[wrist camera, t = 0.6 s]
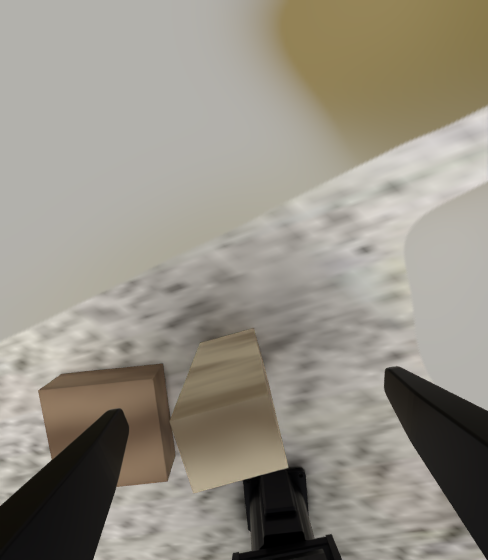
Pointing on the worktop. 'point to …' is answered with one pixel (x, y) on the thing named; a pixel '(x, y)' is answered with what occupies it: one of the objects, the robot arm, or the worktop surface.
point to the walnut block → (110, 395)
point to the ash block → (227, 415)
